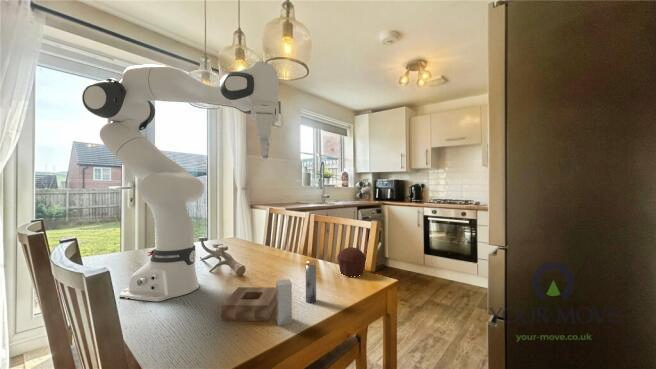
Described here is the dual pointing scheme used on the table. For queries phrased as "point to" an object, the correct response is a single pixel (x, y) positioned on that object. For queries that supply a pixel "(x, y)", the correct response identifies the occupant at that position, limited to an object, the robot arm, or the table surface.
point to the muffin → (351, 261)
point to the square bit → (283, 302)
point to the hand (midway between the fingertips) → (264, 157)
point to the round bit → (310, 281)
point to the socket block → (250, 304)
